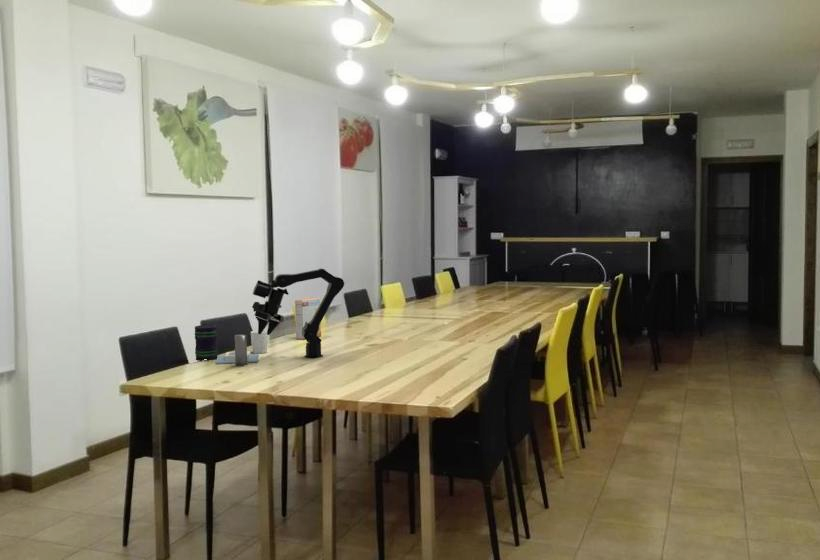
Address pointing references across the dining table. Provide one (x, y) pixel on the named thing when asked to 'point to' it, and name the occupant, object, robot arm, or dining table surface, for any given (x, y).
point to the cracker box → (305, 314)
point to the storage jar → (206, 342)
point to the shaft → (240, 350)
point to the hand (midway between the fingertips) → (263, 334)
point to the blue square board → (231, 358)
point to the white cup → (259, 342)
